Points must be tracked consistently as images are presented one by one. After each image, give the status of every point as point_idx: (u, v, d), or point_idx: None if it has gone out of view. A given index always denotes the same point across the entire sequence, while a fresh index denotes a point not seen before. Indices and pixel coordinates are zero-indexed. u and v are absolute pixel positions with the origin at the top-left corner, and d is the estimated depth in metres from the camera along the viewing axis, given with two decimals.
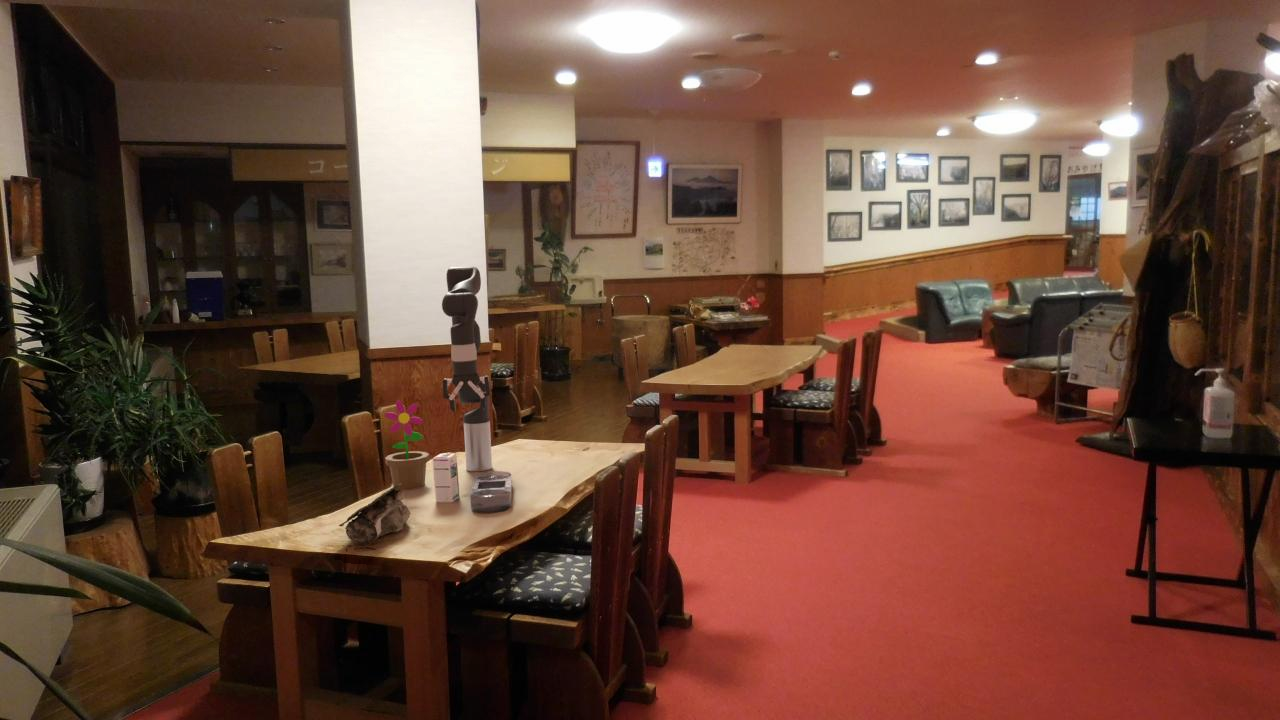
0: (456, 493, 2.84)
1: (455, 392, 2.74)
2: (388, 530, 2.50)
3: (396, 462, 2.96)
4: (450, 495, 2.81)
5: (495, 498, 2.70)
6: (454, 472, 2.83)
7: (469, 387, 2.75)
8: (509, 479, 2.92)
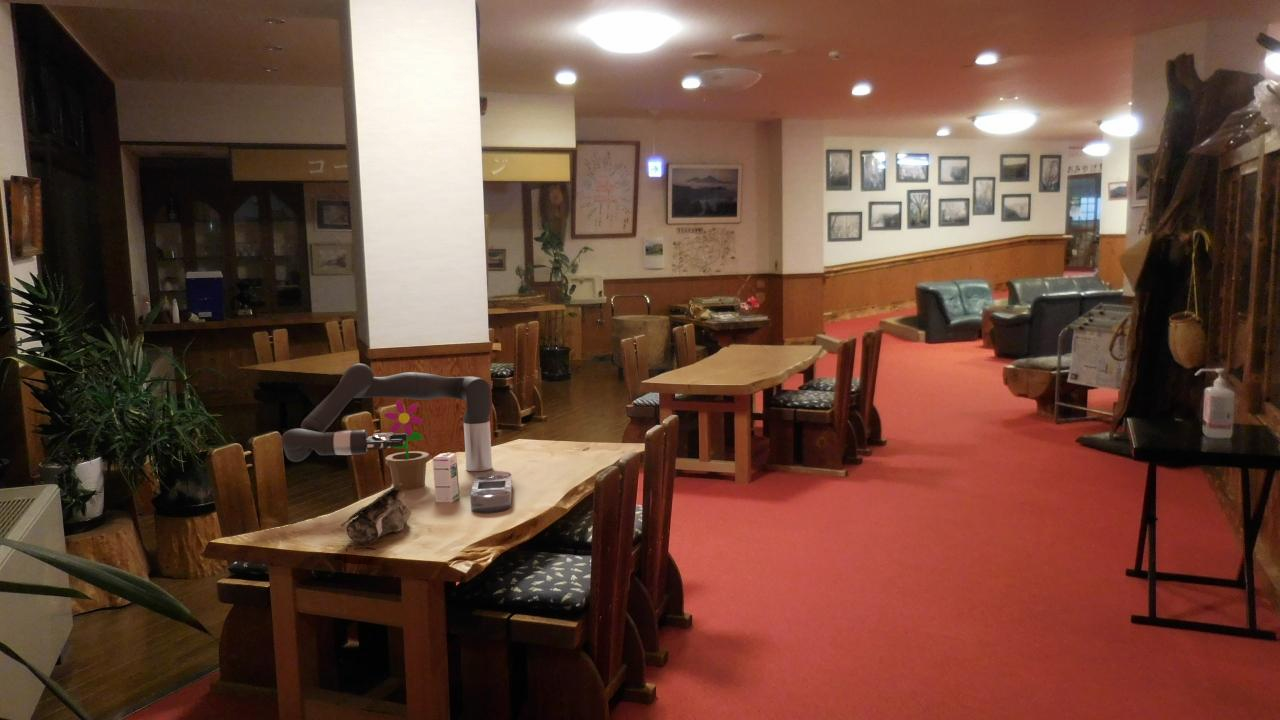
0: (456, 493, 2.84)
1: None
2: (389, 530, 2.50)
3: (396, 462, 2.96)
4: (450, 495, 2.81)
5: (495, 498, 2.70)
6: (454, 472, 2.83)
7: None
8: (509, 479, 2.92)
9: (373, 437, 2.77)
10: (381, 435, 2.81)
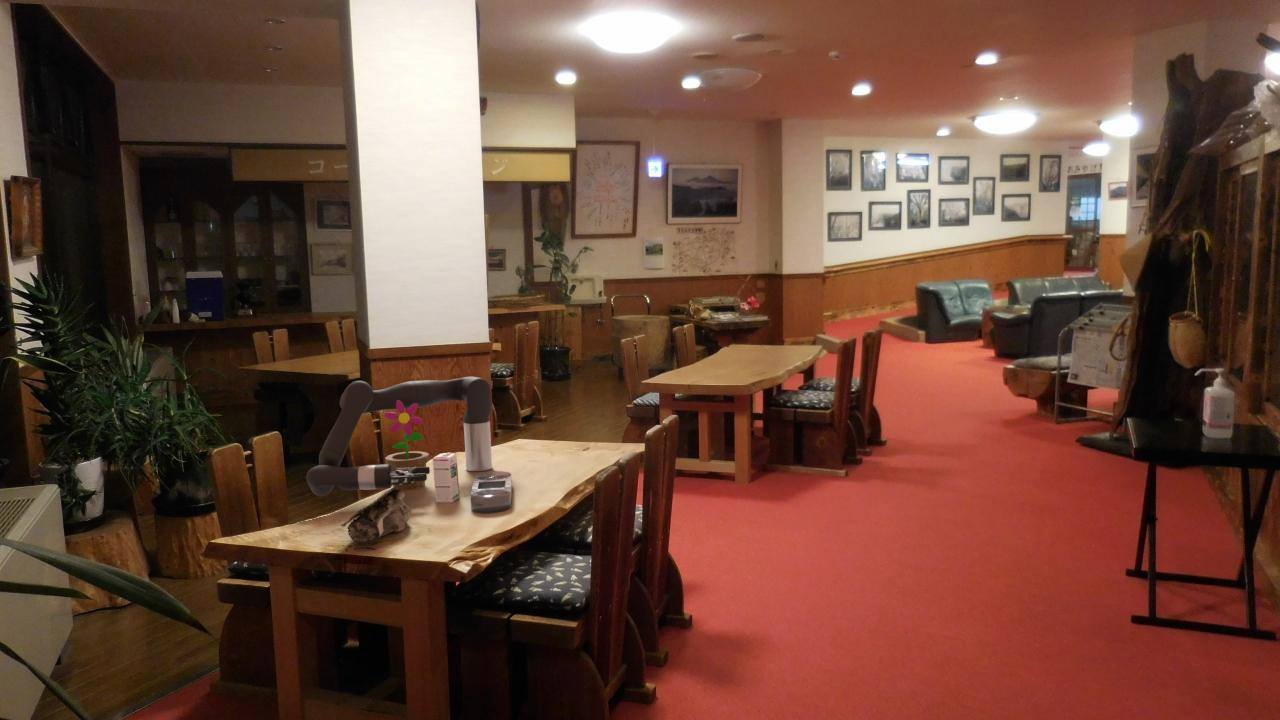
0: (456, 493, 2.84)
1: None
2: (389, 530, 2.50)
3: (396, 462, 2.96)
4: (450, 495, 2.81)
5: (495, 498, 2.70)
6: (454, 472, 2.83)
7: None
8: (509, 479, 2.92)
9: (397, 472, 2.80)
10: (404, 469, 2.84)
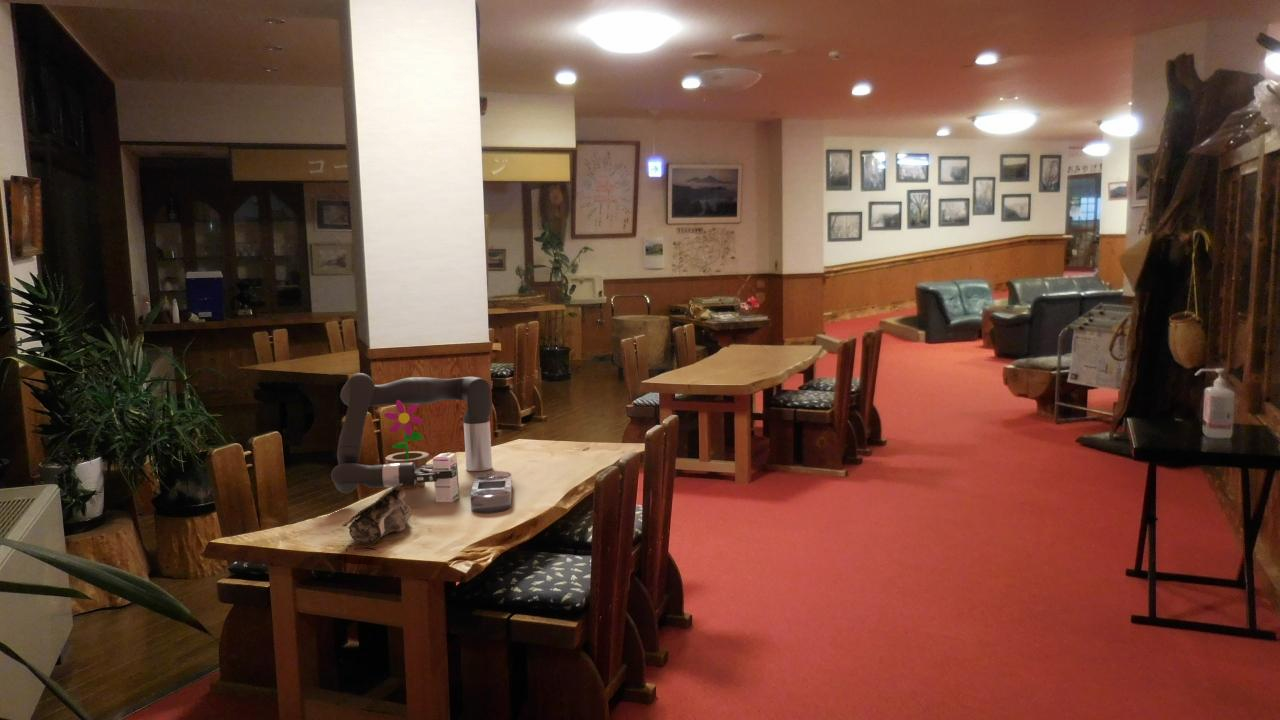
0: (456, 493, 2.84)
1: None
2: (390, 530, 2.50)
3: (396, 462, 2.96)
4: (450, 495, 2.81)
5: (495, 498, 2.70)
6: (454, 472, 2.83)
7: None
8: (509, 479, 2.92)
9: (421, 470, 2.81)
10: (428, 467, 2.84)
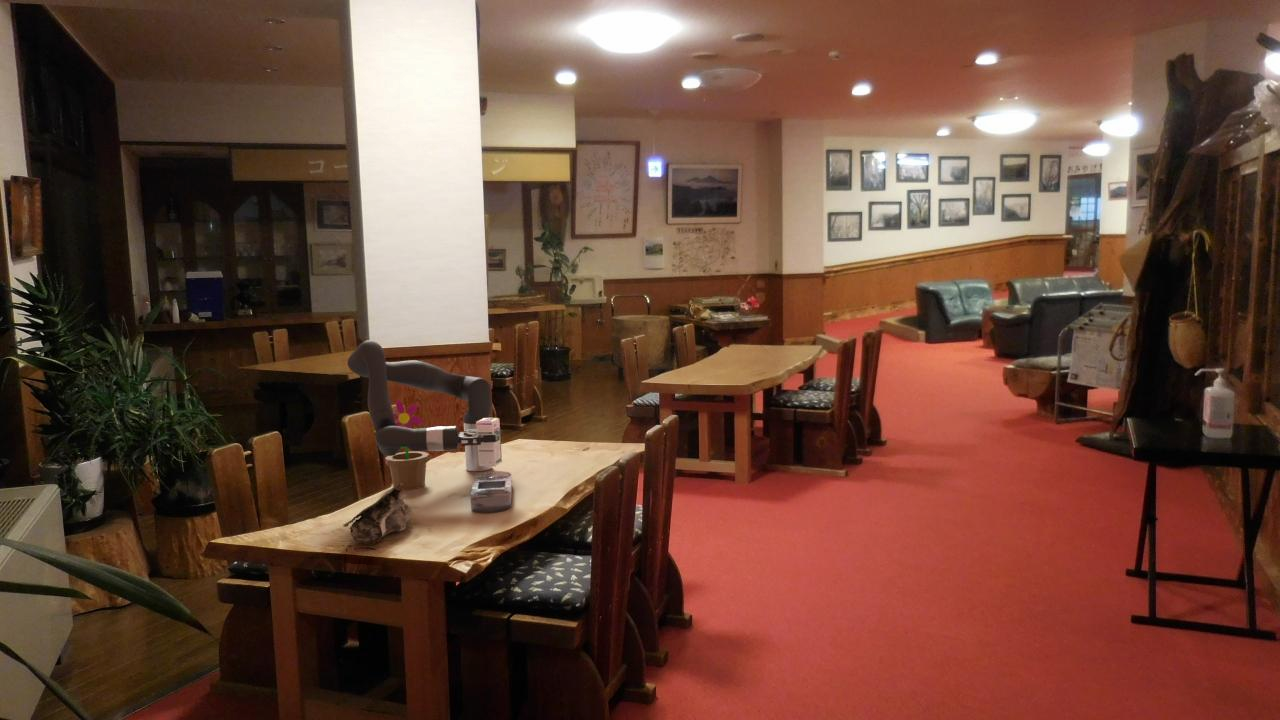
0: (499, 458, 2.85)
1: None
2: (391, 530, 2.50)
3: (396, 462, 2.96)
4: (493, 459, 2.82)
5: (495, 498, 2.70)
6: (497, 437, 2.84)
7: None
8: (509, 479, 2.92)
9: (465, 433, 2.81)
10: (471, 431, 2.85)
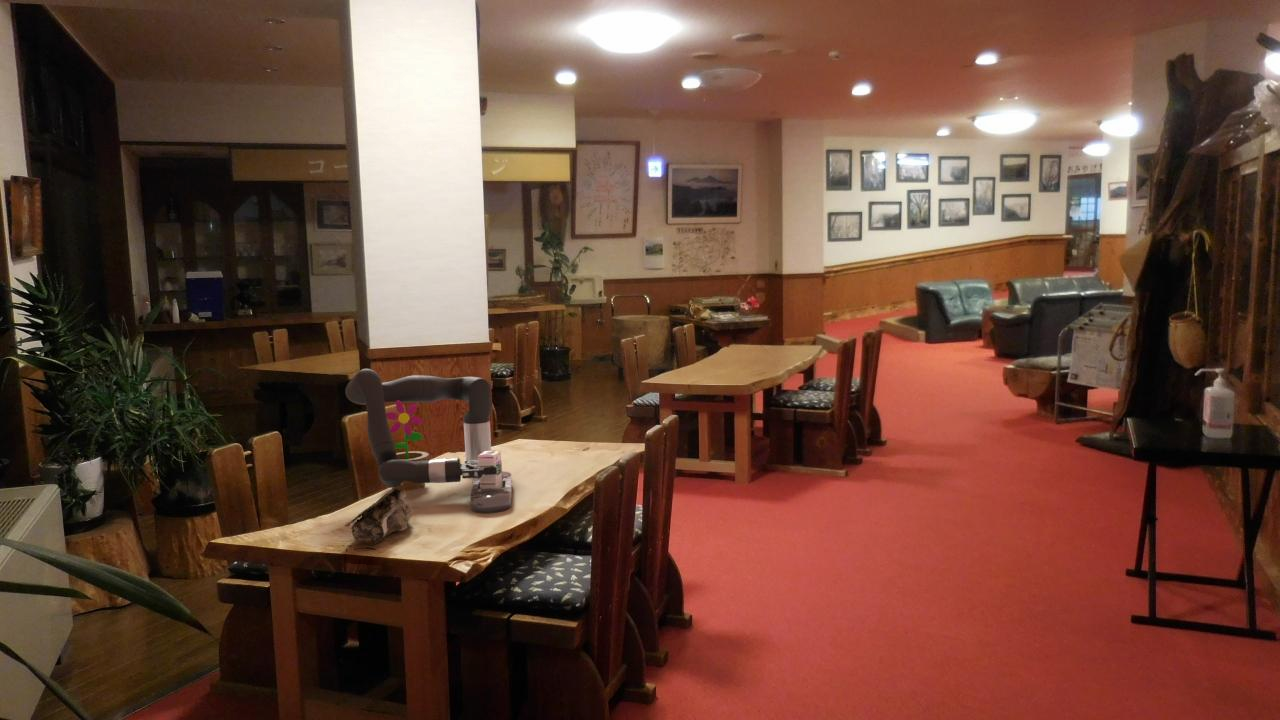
0: None
1: None
2: (392, 529, 2.50)
3: None
4: None
5: (495, 498, 2.70)
6: (499, 470, 2.85)
7: None
8: (509, 479, 2.92)
9: (467, 465, 2.82)
10: (473, 463, 2.86)
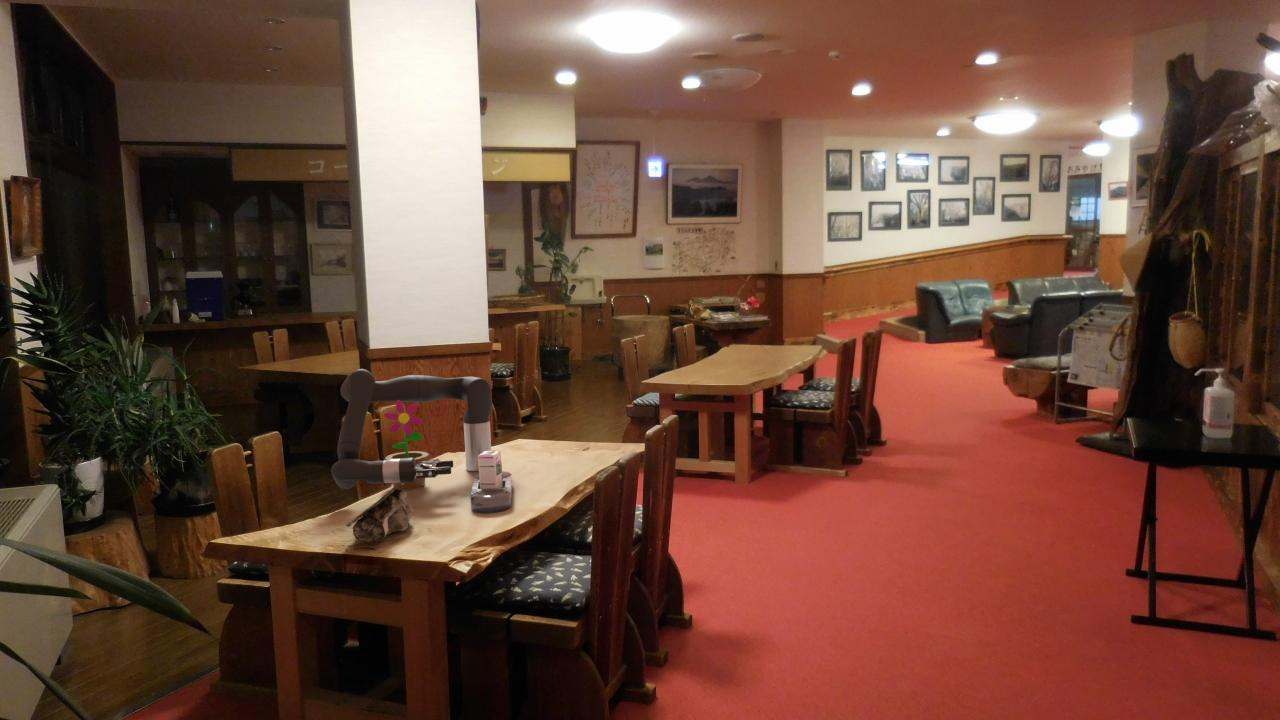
0: None
1: None
2: (393, 529, 2.50)
3: None
4: None
5: (495, 498, 2.70)
6: (499, 470, 2.85)
7: None
8: (509, 479, 2.92)
9: (421, 465, 2.81)
10: (428, 462, 2.84)
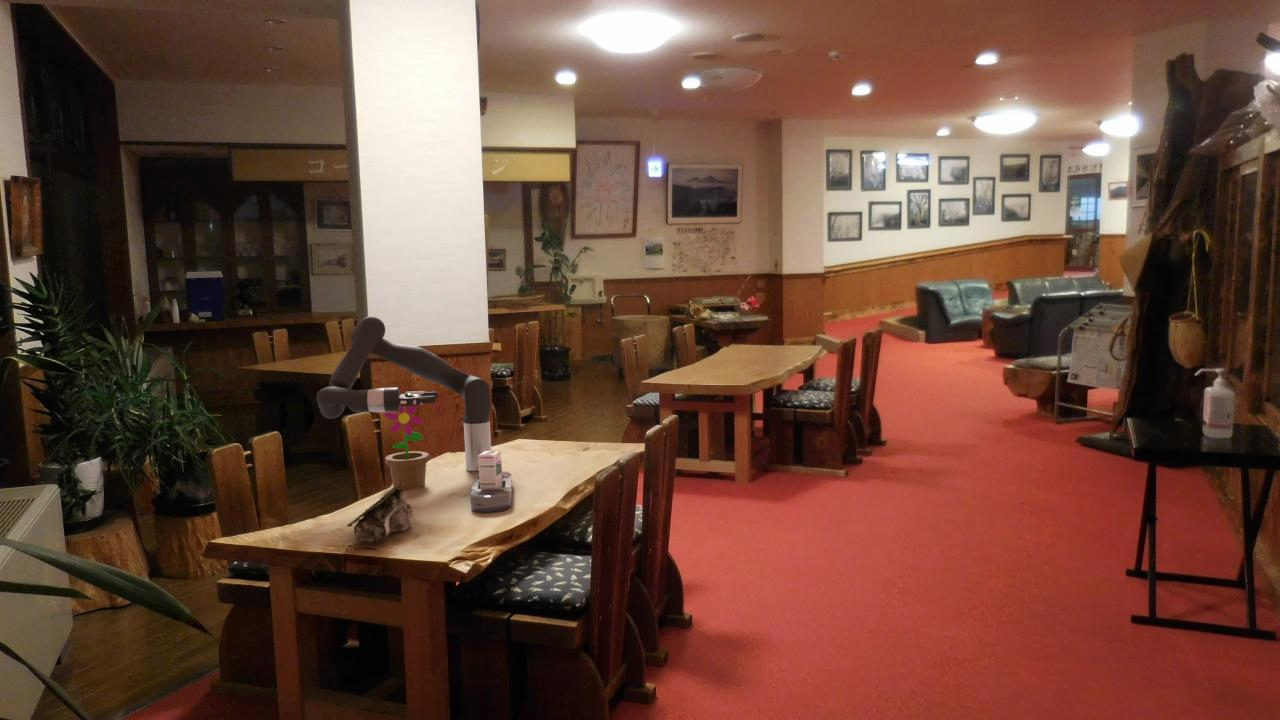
0: None
1: None
2: (394, 529, 2.50)
3: (396, 462, 2.96)
4: None
5: (495, 498, 2.70)
6: (499, 470, 2.85)
7: None
8: (509, 479, 2.92)
9: (406, 394, 2.83)
10: (413, 393, 2.87)
